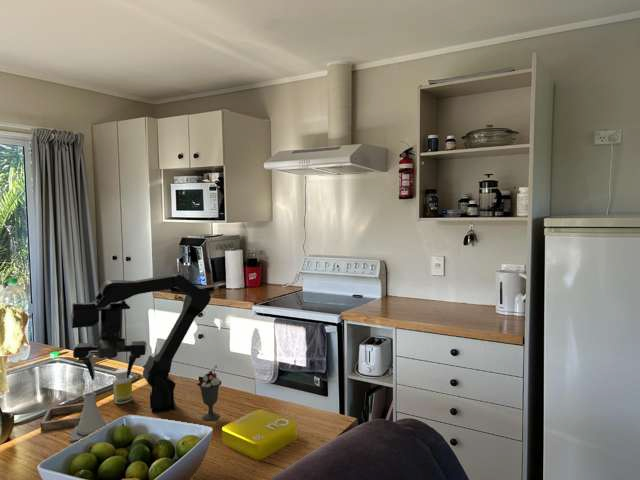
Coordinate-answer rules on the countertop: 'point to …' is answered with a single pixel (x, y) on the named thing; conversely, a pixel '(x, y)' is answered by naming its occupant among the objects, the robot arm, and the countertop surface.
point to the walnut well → (62, 422)
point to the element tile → (259, 433)
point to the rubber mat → (77, 436)
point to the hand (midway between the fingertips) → (110, 378)
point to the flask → (90, 416)
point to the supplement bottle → (122, 387)
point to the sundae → (209, 393)
